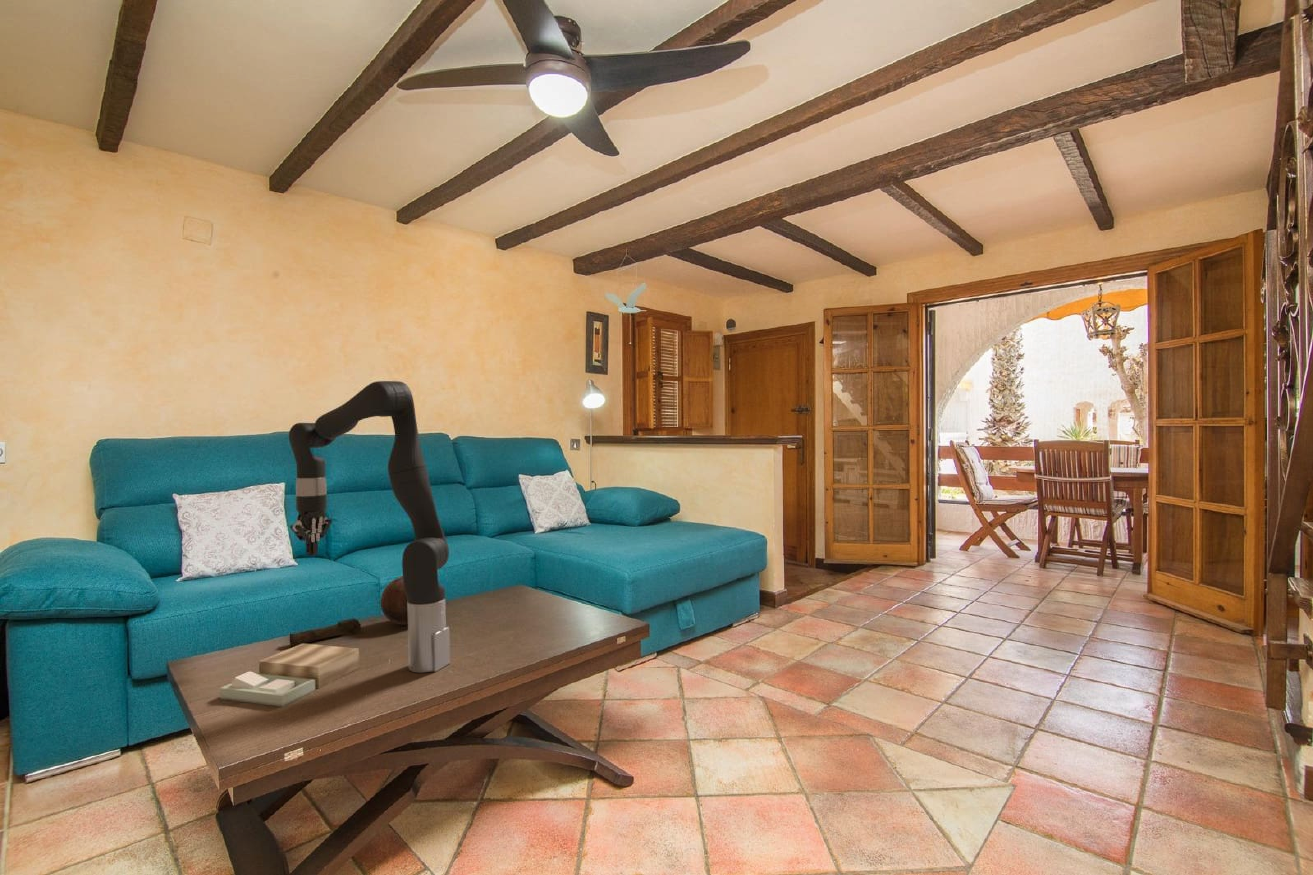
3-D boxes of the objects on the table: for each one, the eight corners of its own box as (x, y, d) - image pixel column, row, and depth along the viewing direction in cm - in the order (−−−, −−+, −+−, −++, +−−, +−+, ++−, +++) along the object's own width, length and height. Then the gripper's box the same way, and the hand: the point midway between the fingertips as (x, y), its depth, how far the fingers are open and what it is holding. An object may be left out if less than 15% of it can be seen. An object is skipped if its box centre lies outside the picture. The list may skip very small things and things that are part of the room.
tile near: (275, 689, 138) (276, 698, 138) (294, 681, 143) (294, 689, 143) (258, 687, 139) (258, 696, 139) (277, 679, 144) (277, 687, 144)
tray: (315, 690, 143) (315, 679, 143) (282, 706, 134) (282, 695, 134) (255, 683, 148) (255, 672, 148) (220, 698, 139) (220, 688, 139)
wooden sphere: (440, 622, 194) (439, 575, 194) (394, 634, 183) (393, 584, 183) (417, 613, 204) (417, 569, 204) (372, 624, 193) (371, 577, 193)
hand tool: (291, 649, 172) (291, 633, 172) (288, 645, 175) (288, 629, 175) (362, 634, 185) (362, 619, 184) (359, 631, 188) (359, 616, 188)
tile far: (254, 686, 139) (250, 694, 139) (268, 679, 144) (265, 687, 144) (234, 677, 140) (231, 685, 139) (249, 671, 145) (246, 679, 144)
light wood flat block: (359, 667, 157) (358, 648, 157) (318, 688, 144) (318, 667, 144) (303, 662, 162) (302, 643, 161) (259, 681, 149) (258, 661, 149)
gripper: (303, 496, 163) (304, 560, 163) (340, 491, 176) (341, 551, 176) (280, 495, 165) (281, 559, 165) (318, 491, 178) (319, 550, 178)
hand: (312, 554), depth 171 cm, fingers closed
